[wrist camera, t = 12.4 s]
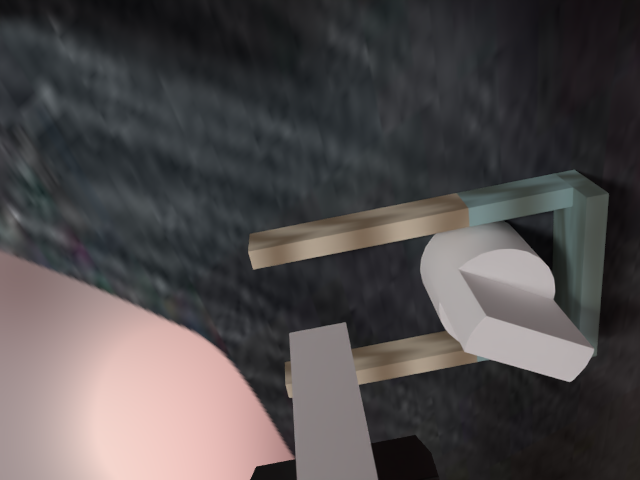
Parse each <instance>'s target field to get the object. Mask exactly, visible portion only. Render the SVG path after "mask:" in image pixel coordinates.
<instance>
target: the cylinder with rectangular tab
mask: <svg viewBox="0 0 640 480" xmlns="http://www.w3.org/2000/svg"><path fill="white" fill-rule="evenodd" d="M420 272H421V276H422V281H423V284H424V286H425V288H426V290H427V292H428V294H429V297H430V299H431V301H432V303H433V305H434V307H435V309H436V312H437V314H438V316H439V318H440V320H441V322H442V324H443V326H444V327H445V329H446V330H447V332H448V333H449V334H450V335H451V336H452V337H454V338H455V339H456V340H457V341H459V342H460V344H461V346H462V348H463V350H464V352H466V353H470V354H473V355H477V356H480V357H484V358H487V359H491V360H495V361H498V362H502V363H505V364H509V365H512V366H516V367H519V368H523V369H526V370H530V371H533V372H537V373H540V374H544V375H547V376H551V377H554V378H558V379H561V380H565V381H568V382H571V381H572V380H574V379H575V378H576V377H577V375H578V374H579V373H580V372H581V371H582V370H583V369H584V368H585V367H586V365H587V363H588V362H589V360H590V358H591V356H592V355H593V353H594V348H593V347H592V345H591V344H590V343H589V342H588V341H587V339H586V338H585V337H584V336H583V335H582V333H581V332H580V331H579V330H578V329H577V328H576V326H575V325H574V324H573V323H572V322H571V320H570V319H569V318H568V317H567V316H566V314H565V313H564V312H563V311H562V310H561V308H560V307H559V306H558V305H557V304H556V302H555V301H554V295H555V283H554V277H553V275H552V273H551V271H550V269H549V267H548V266H547V265H546V264H545V262H544V261H543V260H542V259H541V258H540V257H539V256H538V255H537V254H536V253H535V251H534V250H533V249H532V248H531V247H530V246H529V245H528V244H527V243H526V242H525V241H524V239H523V238H522V237H521V236H520V235H519V234H518V233H517V232H516V231H515V230H514V229H513V228H512V227H511V226H510V225H509V224H508V223H506V222H505V221H503V220H502V221H496V222H491V223H486V224H481V225H476V226H471V227H466V228H461V229H456V230H451V231H446V232H441V233H436V234H435V235H434V236H433V237H432V239H431V240H430V242H429V243H428V245H427V246H426V248H425V250H424V253H423V256H422V258H421V268H420Z"/></svg>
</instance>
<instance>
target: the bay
mask: <svg viewBox="0 0 640 480" xmlns="http://www.w3.org/2000/svg"><path fill="white" fill-rule="evenodd" d="M608 199H609V193H608V192H606V191H605V190H603V189H602V188H600V187H599V186H597V185H596V184H595V183H593V182H592V181H590V180H589V179H587V178H586V177H584V176H583V175H581V174H580V173H579V172H577V171H576V170H571V171H566V172H560V173H555V174H550V175H545V176H540V177H535V178H530V179H525V180H520V181H515V182H510V183H505V184H500V185H495V186H490V187H485V188H480V189H475V190H470V191H465V192H460V193H454V194H449V195H444V196H439V197H434V198H429V199H424V200H419V201H414V202H409V203H404V204H399V205H394V206H389V207H384V208H379V209H374V210H369V211H364V212H359V213H354V214H349V215H343V216H338V217H333V218H328V219H323V220H318V221H313V222H308V223H303V224H298V225H293V226H288V227H283V228H278V229H273V230H268V231H263V232H258V233H253V234H250V238H249V249H248V253H249V256H250V260H251V263H252V267H253V269H258V268H263V267H268V266H273V265H278V264H283V263H288V262H293V261H299V260H304V259H309V258H314V257H319V256H324V255H329V254H334V253H339V252H344V251H349V250H354V249H359V248H364V247H370V246H375V245H380V244H385V243H390V242H395V241H400V240H405V239H410V238H415V237H420V236H425V235H430V234H436V233H441V232H446V231H451V230H456V229H461V228H466V227H471V226H476V225H481V224H486V223H491V222H496V221H502V220H507V219H512V218H517V217H522V216H527V215H532V214H537V213H542V212H547V211H552V210H554V227H553V267H552V275H553V277H554V283H555V295H554V301H555V302H556V304H557V305H558V306H559V307H560V308H561V310H562V311H563V312H564V313H565V314H566V316H567V317H568V318H569V319H570V320H571V322H572V323H573V324H574V325H575V326H576V328H577V329H578V330H579V331H580V332H581V333H582V335H583V336H584V337H585V338H586V339H587V341H588V342H589V343H590V344H591V345H592V347H593V348H594V353H593V355H592V356H591V357H593V356H597V343H598V330H599V317H600V304H601V291H602V278H603V265H604V252H605V238H606V225H607V212H608ZM351 351H352V356H353V361H354V365H355V370H356V375H357V380H358V385H359V384H365V383H370V382H375V381H380V380H385V379H391V378H396V377H401V376H406V375H411V374H417V373H422V372H427V371H432V370H437V369H442V368H448V367H453V366H458V365H463V364H468V363H474V362H479V361H484V360H489V359H487V358H484V357H480V356H477V355H473V354H470V353H466V352H464V350H463V348H462V346H461V344H460V342H459V341H457V340H456V339H455V338H454V337H452V336H451V335H450V334H449V333H448V332H447V331H443V332H438V333H433V334H428V335H422V336H417V337H412V338H407V339H402V340H397V341H392V342H386V343H381V344H376V345H371V346H366V347H361V348H355V349H351ZM285 381H286V388H287V391H288V395H289V398H292V397H293V393H292V374H291V361H288V362H285Z"/></svg>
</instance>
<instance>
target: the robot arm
mask: <svg viewBox="0 0 640 480" xmlns="http://www.w3.org/2000/svg"><path fill="white" fill-rule="evenodd" d="M289 336H290V355H291V374H292V393H293V412H294V432H295V451H296V459H294V460H289V461H284V462H278V463H273V464H268V465H262V466H257V467H256V468H255V470H254V473H253V475H252V477H251V479H250V480H439V476H438V473H437V470H436V467H435V464H434V460H433V457H432V454H431V452H430V451H429V450H428V449H427V448H426V447H425V445H424V444H423V443H422V442H421V441H420V440H419V439H418V438H417V436H416V435H413V436H408V437H402V438H397V439H392V440H387V441H381V442H376V443H370V438H369V433H368V428H367V424H366V419H365V414H364V409H363V404H362V399H361V394H360V390H359V385H358V380H357V375H356V370H355V365H354V361H353V356H352V351H351V346H350V341H349V336H348V331H347V327H346V322H345V323H340V324H334V325H329V326H324V327H319V328H314V329H309V330H303V331H298V332H293V333H289Z"/></svg>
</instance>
